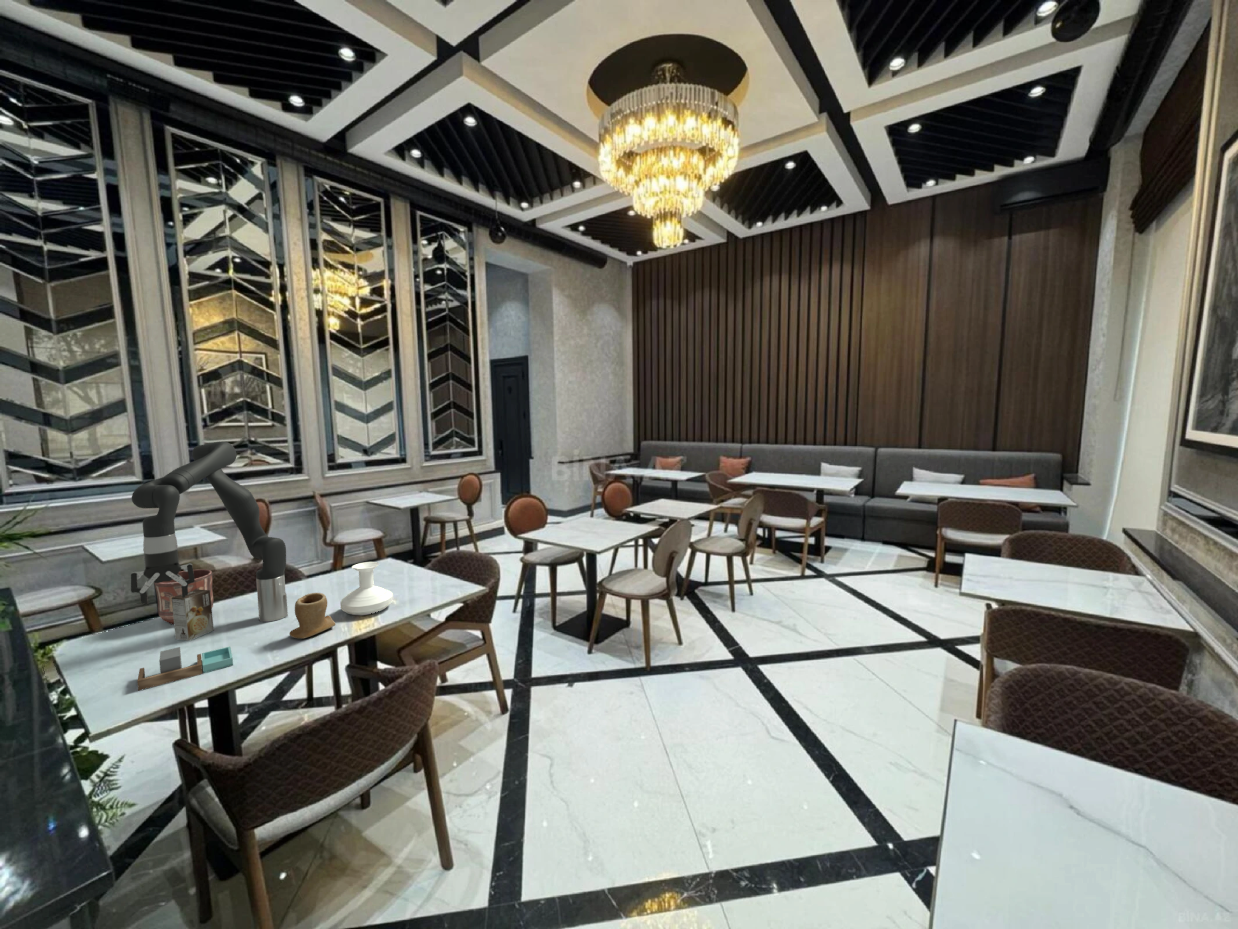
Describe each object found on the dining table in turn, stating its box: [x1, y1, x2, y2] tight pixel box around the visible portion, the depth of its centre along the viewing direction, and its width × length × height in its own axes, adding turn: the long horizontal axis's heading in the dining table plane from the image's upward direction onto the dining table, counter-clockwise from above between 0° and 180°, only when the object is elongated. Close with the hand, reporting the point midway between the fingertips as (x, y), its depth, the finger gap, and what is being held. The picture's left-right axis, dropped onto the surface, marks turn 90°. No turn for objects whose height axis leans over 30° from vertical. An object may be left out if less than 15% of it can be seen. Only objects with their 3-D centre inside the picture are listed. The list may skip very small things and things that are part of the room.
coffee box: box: [172, 590, 215, 642], centre depth 179 cm, size 9×6×16 cm
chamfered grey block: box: [158, 646, 183, 674], centre depth 151 cm, size 5×8×7 cm, turn 42°
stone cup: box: [289, 592, 337, 639], centre depth 181 cm, size 15×12×15 cm
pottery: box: [153, 568, 214, 625], centre depth 194 cm, size 18×18×18 cm
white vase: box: [339, 561, 394, 616], centre depth 203 cm, size 20×20×19 cm
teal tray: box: [201, 646, 234, 674], centre depth 158 cm, size 7×11×2 cm
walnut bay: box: [137, 653, 203, 691], centre depth 150 cm, size 14×10×3 cm
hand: (165, 600), depth 149 cm, fingers open, 8 cm apart
